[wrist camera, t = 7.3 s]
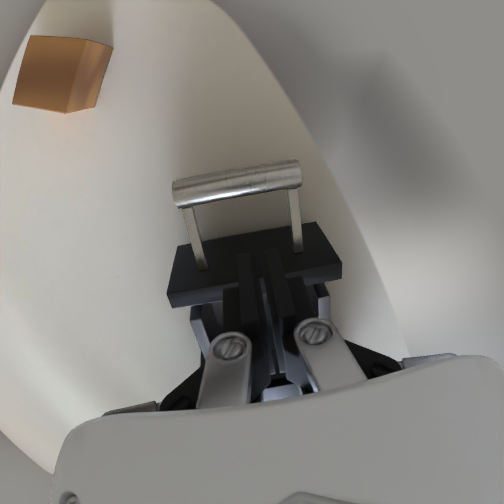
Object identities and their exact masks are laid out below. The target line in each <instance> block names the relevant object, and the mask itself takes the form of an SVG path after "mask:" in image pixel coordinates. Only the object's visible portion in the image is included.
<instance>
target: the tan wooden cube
mask: <svg viewBox="0 0 504 504" xmlns="http://www.w3.org/2000/svg"><path fill="white" fill-rule="evenodd" d="M112 51H113V47H110V46H107V45H104V44H101V43H98V42H95V41H91V40H88V39H80V38H69V37H56V36H32V35H31V36H30V38H29V41H28V44H27V47H26V50H25V53H24V57H23V60H22V64H21V68H20V71H19V75H18V79H17V84H16V88H15V93H14V97H13V102H12V104H13V105H20V106H26V107H32V108H38V109H43V110H49V111H54V112H59V113H64V114H66V113H71V112H75V111H79V110H84V109H89V108H94V107H95V105H96V101H97V97H98V94H99V90H100V87H101V84H102V81H103V77H104V74H105V71H106V68H107V65H108V62H109V59H110V57H111V54H112Z"/></svg>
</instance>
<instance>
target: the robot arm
mask: <svg viewBox="0 0 504 504" xmlns="http://www.w3.org/2000/svg"><path fill="white" fill-rule="evenodd" d="M264 252H265V254H260V259H261V265H262V272H263V278H264V284H265V290H266V296H267V302H268V308H269V314H270V320H271V325H272V331H273V336H274V342H275V348H276V353H277V359H278V364H279V370H280V373H284V372H286V378H287V380H289V381H291V382H293V383H294V384H296V385H298V390H299V393H300V396H295V397H290V398H284V399H278V400H272V401H265V402H263V401H264V394H263V391H264V390H265V389H266V387H267V386H268V385H269V384H270V383H271V378H270V375H272V374H275V368H274V362H273V356H272V350H271V344H270V338H269V331H268V325H267V319H266V313H265V307H264V302H263V296H262V290H261V284H260V278H259V272H258V267H257V261H256V255H253V256H250V253H244V254H238V255H237V268H238V282H239V286H237V287H231V288H225V289H223V334H221V335H219V336H217V337H216V338H215V339H214V340H213V341H212V342H211V344H210V346H209V349H208V354H207V358H206V362H205V363H204V364H203V365H202V366H201V367H200V368H199V369H197V370H196V371H195V372H194V373H193V374H192V375H190V376H189V377H188V378H187V379H186V380H185V381H184V382H182V383H181V384H180V385H179V386H178V387H176V388H175V389H174V390H173V391H172V392H171V393H169V394H168V395H167V396H166V397H165V398H164V399H163V400H162V402H160V403H156V402H155V401H152V402H148V403H144V404H139V405H135V406H130V407H126V408H121V409H116V410H111V411H109V412H106V413H105V414H103V415H102V416H101V417H98V418H95V419H92V420H89V421H86V422H84V423H82V424H80V425H78V426H76V427H75V428H74V429H72V430H71V431H70V432H69V434H68V435H67V437H66V438H65V440H64V442H63V444H62V447H61V450H60V453H59V456H58V459H57V463H56V466H55V471H54V475H53V481H52V485H51V492H50V499H49V504H504V369H503V367H502V366H500V364H498V363H497V362H496V361H494V360H493V359H491V358H489V357H486V356H481V355H456V354H453V353H445V354H438V355H430V356H420V357H411V358H403V359H402V361H399V362H397V361H396V360H394V359H392V358H390V357H388V356H385V355H382V354H380V353H377V352H375V351H372V350H370V349H367V348H364V347H362V346H359V345H357V344H354V343H352V342H349V341H347V340H344V339H343V338H342V336H341V335H340V333H339V332H338V330H337V328H336V327H335V325H334V324H333V323H332V322H330V321H329V320H327V319H324V318H317V317H316V314H315V311H314V308H313V305H312V303H311V300H310V297H309V294H308V291H307V288H306V286H305V283H304V280H303V277H302V276H295V277H290V278H286V276H285V272H284V269H283V265H282V262H281V258H280V255H279V251H278V248H273V249H267V250H264Z"/></svg>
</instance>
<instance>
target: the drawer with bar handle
mask: <svg viewBox="0 0 504 504" xmlns="http://www.w3.org/2000/svg"><path fill="white" fill-rule="evenodd" d="M301 186H302V172H301V168H300V164H299V162H298V160H297V159H292V160H285V161H279V162H272V163H266V164H259V165H253V166H247V167H242V168H236V169H231V170H225V171H220V172H215V173H209V174H204V175H200V176H195V177H190V178H185V179H181V180H176V181H173V182H172V194H173V199H174V202H175V205H176V207H177V208H178V209H180V208H182V211H183V215H184V219H185V223H186V226H187V230H188V234H189V237H190V241H191V244H186V245H181V246H178V247H177V251H176V255H175V259H174V263H173V267H172V272H171V276H170V280H169V285H168V289H167V296H168V299H169V301H170V304H171V306H172V308H173V309H174V308H180V307H187V306H191V313H190V323H191V326H192V328H193V331H194V333H195V336H196V338H197V341H198V343H199V346H200V348H201V351H202V353H203V356H204V358H205V360H206V358H207V354H208V349H209V346H210V344H211V342H212V341H213V340H214V339H215V338H216V337H217V336H219V335H221V334H223V289H225V288H231V287H237V286H239V282H238V268H237V255H238V254H244V253H250V256H253V255H256V261H257V267H258V272H259V278H260V284H261V290H262V296H263V302H264V307H265V313H266V319H267V325H268V331H269V338H270V344H271V350H272V356H273V362H274V368H275V374H272V375H270V378H271V380H272V379H278V378H283V377H286V372H284V373H280V370H279V364H278V359H277V353H276V348H275V342H274V336H273V331H272V325H271V320H270V314H269V308H268V302H267V296H266V290H265V284H264V278H263V272H262V265H261V259H260V254H265V252H264V250H267V249H273V248H278V251H279V255H280V258H281V262H282V265H283V269H284V272H285V276H286V278H290V277H295V276H302V277H303V280H304V283H305V286H306V288H307V291H308V294H309V297H310V300H311V303H312V305H313V308H314V311H315V314H316V317H317V318H324V319H327V320H329V321H330V295H329V293H328V291H327V288H326V286H325V284H324V282H328V281H332V280H337V279H342V262H341V260H340V258H339V257H338V255H337V254H336V252H335V250H334V249H333V247H332V246H331V244H330V243H329V241H328V239H327V238H326V236H325V235H324V233H323V232H322V230H321V228H320V227H319V225H318V224H317V222H316V221H315V222H309V223H303V224H301V216H300V205H299V195H298V188H297V187H301ZM284 189H286V193H287V201H288V210H289V219H290V226H286V227H280V228H274V229H268V230H263V231H257V232H251V233H246V234H240V235H235V236H229V237H224V238H218V239H213V240H207V241H202V238H201V234H200V230H199V226H198V222H197V218H196V214H195V210H194V206H195V205H200V204H205V203H210V202H215V201H221V200H226V199H231V198H237V197H243V196H248V195H254V194H260V193H266V192H272V191H278V190H284Z"/></svg>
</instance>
